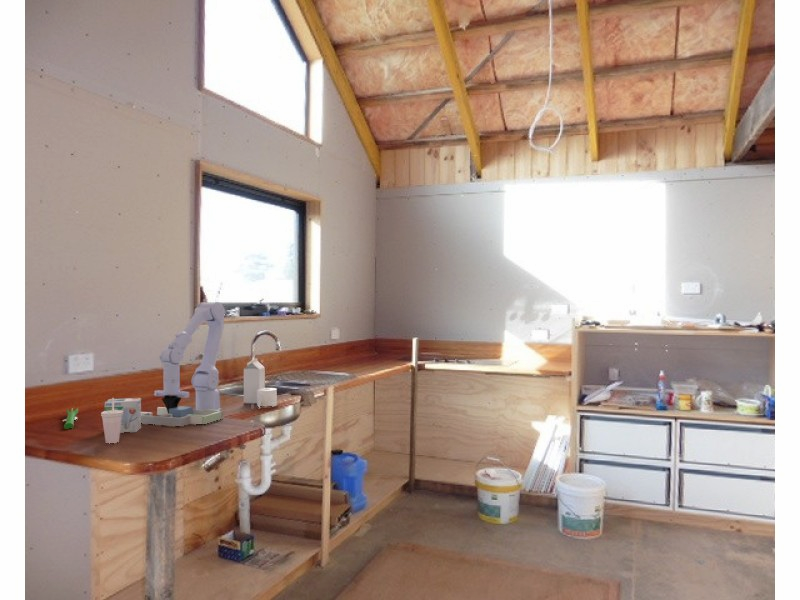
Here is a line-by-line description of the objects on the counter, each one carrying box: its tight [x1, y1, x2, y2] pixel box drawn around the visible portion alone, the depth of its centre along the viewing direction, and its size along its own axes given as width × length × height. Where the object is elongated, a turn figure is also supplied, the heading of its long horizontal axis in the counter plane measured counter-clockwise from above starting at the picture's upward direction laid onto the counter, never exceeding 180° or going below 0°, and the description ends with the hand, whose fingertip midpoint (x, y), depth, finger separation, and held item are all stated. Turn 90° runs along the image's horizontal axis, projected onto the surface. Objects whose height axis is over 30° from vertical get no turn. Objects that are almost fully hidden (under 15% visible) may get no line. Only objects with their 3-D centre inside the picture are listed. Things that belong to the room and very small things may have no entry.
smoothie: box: [100, 397, 123, 445], centre depth 184 cm, size 6×6×14 cm
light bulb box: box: [104, 397, 142, 434], centre depth 200 cm, size 11×7×11 cm, turn 105°
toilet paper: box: [256, 387, 278, 410], centre depth 246 cm, size 8×11×7 cm
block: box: [169, 405, 194, 418], centre depth 218 cm, size 6×6×4 cm
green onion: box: [62, 407, 79, 430], centre depth 216 cm, size 5×3×30 cm
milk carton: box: [243, 357, 266, 404], centre depth 255 cm, size 7×7×19 cm
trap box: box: [141, 406, 223, 427], centre depth 216 cm, size 16×29×3 cm, turn 72°
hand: (171, 415), depth 220 cm, fingers closed
